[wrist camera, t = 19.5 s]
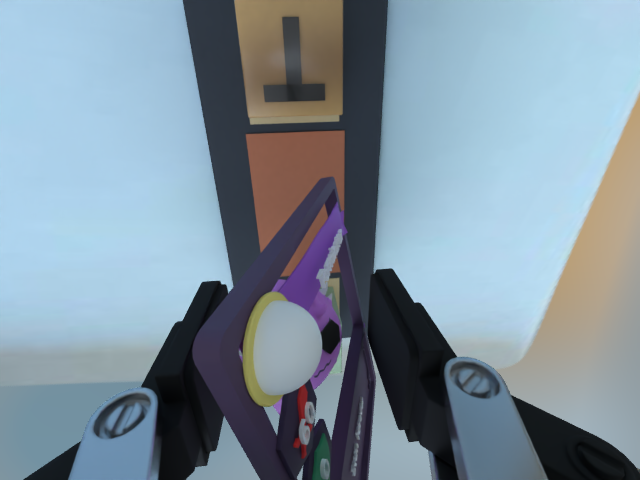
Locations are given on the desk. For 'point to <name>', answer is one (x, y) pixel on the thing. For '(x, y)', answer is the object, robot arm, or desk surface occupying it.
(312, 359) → the purple boxed toy figure
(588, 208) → the desk surface
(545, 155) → the desk surface
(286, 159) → the word mat
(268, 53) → the honey letter block
